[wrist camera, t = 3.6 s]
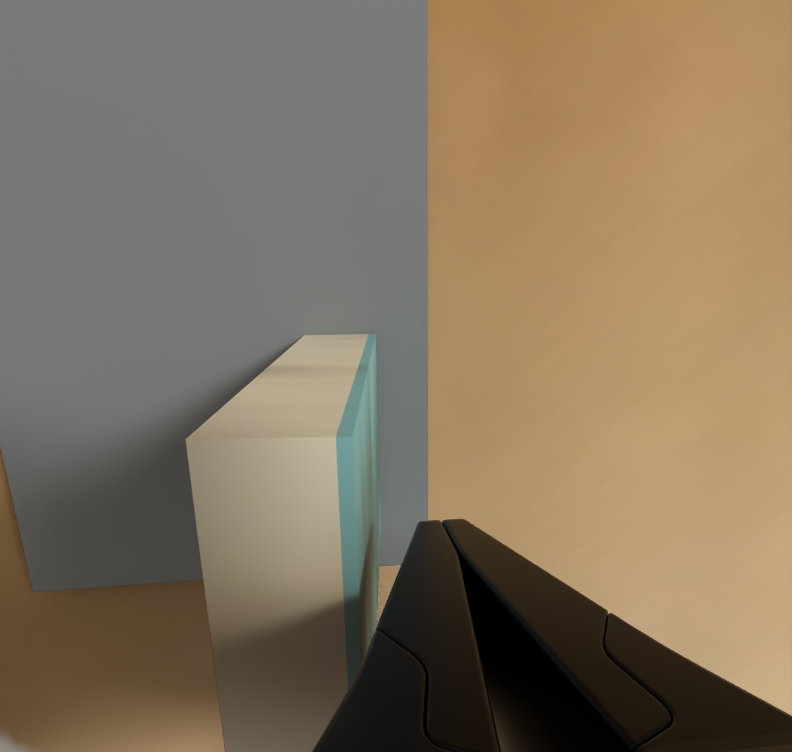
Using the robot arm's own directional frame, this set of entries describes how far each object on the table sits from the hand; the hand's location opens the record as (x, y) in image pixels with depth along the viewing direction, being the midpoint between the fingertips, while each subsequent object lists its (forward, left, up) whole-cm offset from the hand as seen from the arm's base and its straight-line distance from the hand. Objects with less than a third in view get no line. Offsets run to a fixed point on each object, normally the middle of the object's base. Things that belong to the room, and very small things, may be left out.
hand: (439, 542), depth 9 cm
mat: (+5, +3, -6) cm, 9 cm away
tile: (+1, +2, -6) cm, 6 cm away
